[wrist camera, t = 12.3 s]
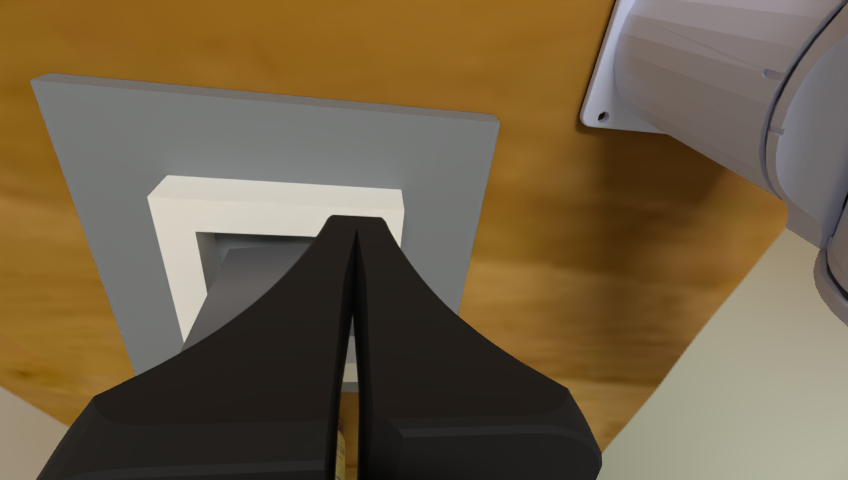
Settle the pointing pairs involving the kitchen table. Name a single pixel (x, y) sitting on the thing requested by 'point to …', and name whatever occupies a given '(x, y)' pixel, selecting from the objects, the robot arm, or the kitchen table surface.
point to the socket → (252, 188)
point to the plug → (241, 285)
